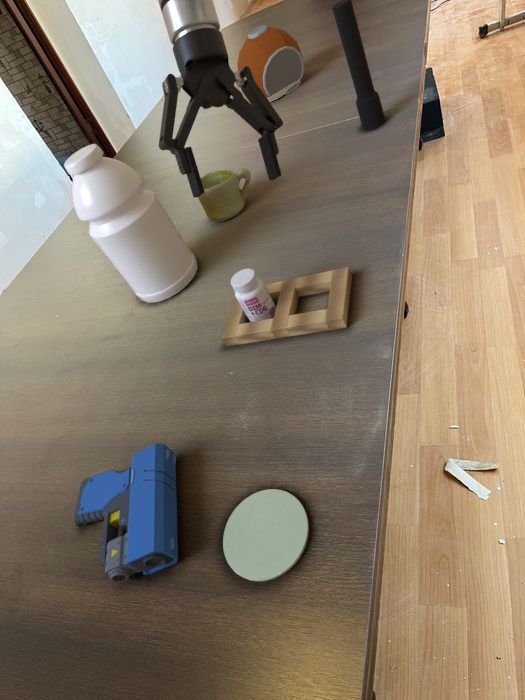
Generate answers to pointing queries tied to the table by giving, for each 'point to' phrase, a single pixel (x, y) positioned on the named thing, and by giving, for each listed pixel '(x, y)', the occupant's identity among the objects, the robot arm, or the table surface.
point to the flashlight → (358, 66)
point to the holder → (294, 309)
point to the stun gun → (134, 513)
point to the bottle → (130, 225)
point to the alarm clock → (272, 59)
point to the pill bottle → (253, 295)
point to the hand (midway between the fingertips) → (238, 186)
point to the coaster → (266, 535)
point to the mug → (224, 193)
